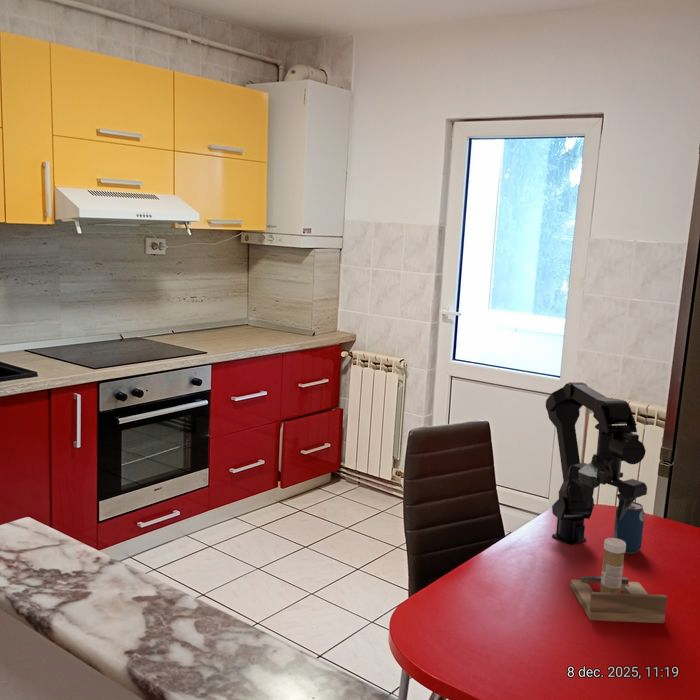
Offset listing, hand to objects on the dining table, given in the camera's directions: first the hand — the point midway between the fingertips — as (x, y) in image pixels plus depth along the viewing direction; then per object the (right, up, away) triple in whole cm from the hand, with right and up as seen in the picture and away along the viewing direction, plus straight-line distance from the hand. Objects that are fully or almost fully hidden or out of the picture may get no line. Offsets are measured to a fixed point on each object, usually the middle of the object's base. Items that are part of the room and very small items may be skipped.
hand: (603, 513), depth 184 cm
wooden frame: (-4, -16, -18) cm, 24 cm away
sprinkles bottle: (-4, -16, -16) cm, 22 cm away
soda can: (+10, -12, +12) cm, 19 cm away
